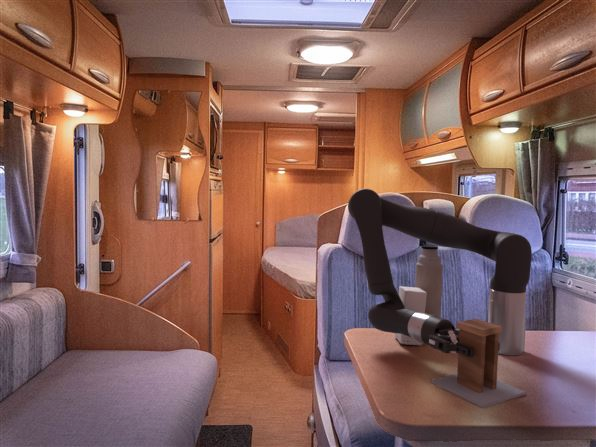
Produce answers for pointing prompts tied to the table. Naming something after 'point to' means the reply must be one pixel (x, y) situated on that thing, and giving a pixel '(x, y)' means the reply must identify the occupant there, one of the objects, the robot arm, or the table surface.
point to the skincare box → (414, 301)
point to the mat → (480, 399)
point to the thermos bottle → (430, 278)
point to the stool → (478, 354)
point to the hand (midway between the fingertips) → (485, 350)
